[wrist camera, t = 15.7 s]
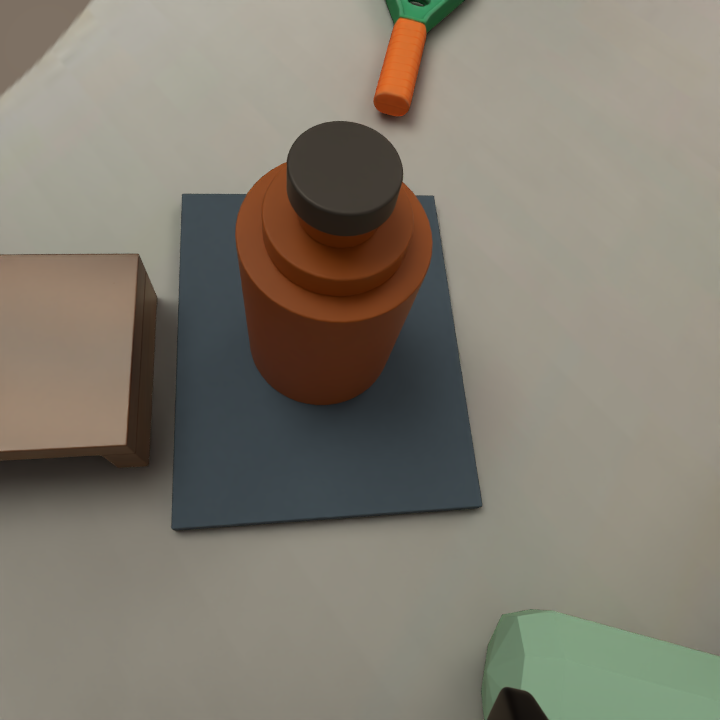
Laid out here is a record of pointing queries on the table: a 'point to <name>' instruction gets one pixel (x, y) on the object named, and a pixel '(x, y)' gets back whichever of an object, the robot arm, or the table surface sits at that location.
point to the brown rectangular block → (76, 357)
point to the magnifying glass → (407, 51)
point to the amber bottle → (330, 262)
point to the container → (598, 671)
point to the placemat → (309, 406)
